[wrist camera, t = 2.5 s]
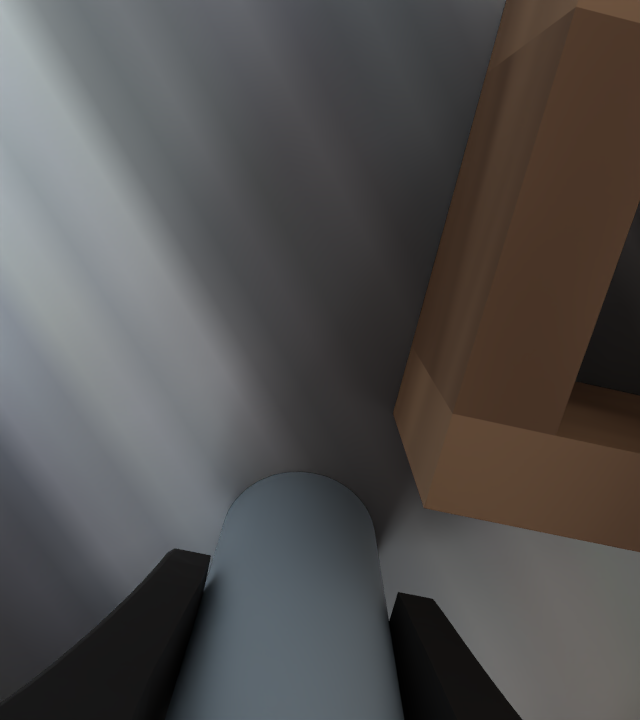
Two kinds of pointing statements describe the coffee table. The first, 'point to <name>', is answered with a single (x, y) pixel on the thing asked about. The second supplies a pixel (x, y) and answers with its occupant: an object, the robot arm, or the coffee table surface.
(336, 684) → the dowel
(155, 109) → the coffee table surface
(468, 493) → the brown square frame
